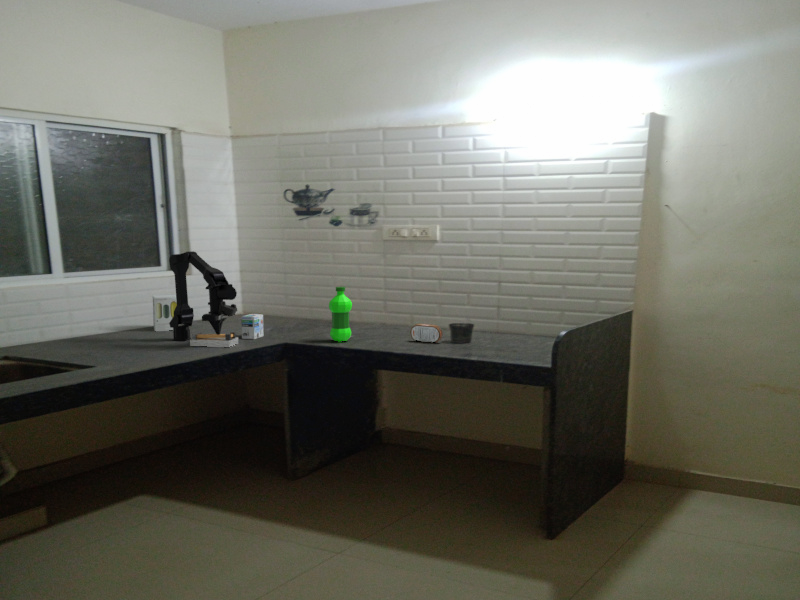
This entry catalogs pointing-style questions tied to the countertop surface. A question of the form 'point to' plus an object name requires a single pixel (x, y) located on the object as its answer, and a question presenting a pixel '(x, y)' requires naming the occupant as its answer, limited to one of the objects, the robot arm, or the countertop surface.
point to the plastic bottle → (340, 316)
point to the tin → (426, 332)
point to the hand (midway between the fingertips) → (218, 334)
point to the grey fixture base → (214, 341)
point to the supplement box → (163, 311)
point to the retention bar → (212, 336)
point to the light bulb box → (252, 326)
